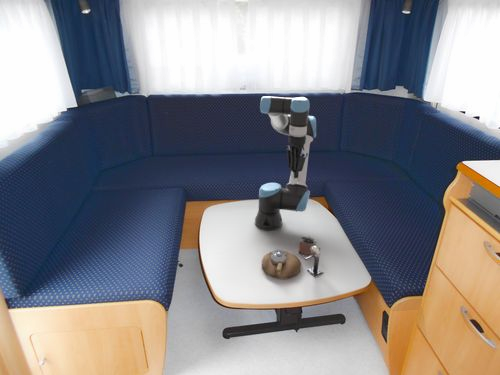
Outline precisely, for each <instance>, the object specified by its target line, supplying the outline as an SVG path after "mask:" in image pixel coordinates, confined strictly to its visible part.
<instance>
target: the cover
mask: <svg viewBox="0 0 500 375" xmlns="http://www.w3.org/2000/svg"><path fill="white" fill-rule="evenodd" d="M284 251H285V250H280V249H276V250H273V252H272V251H271V252H272V254H271V263H272V264H273V265H274V266H278V263H279V262H280V263H282V266H284V265H285V264H286V259H287V254H286V253H285V252H284Z"/></svg>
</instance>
